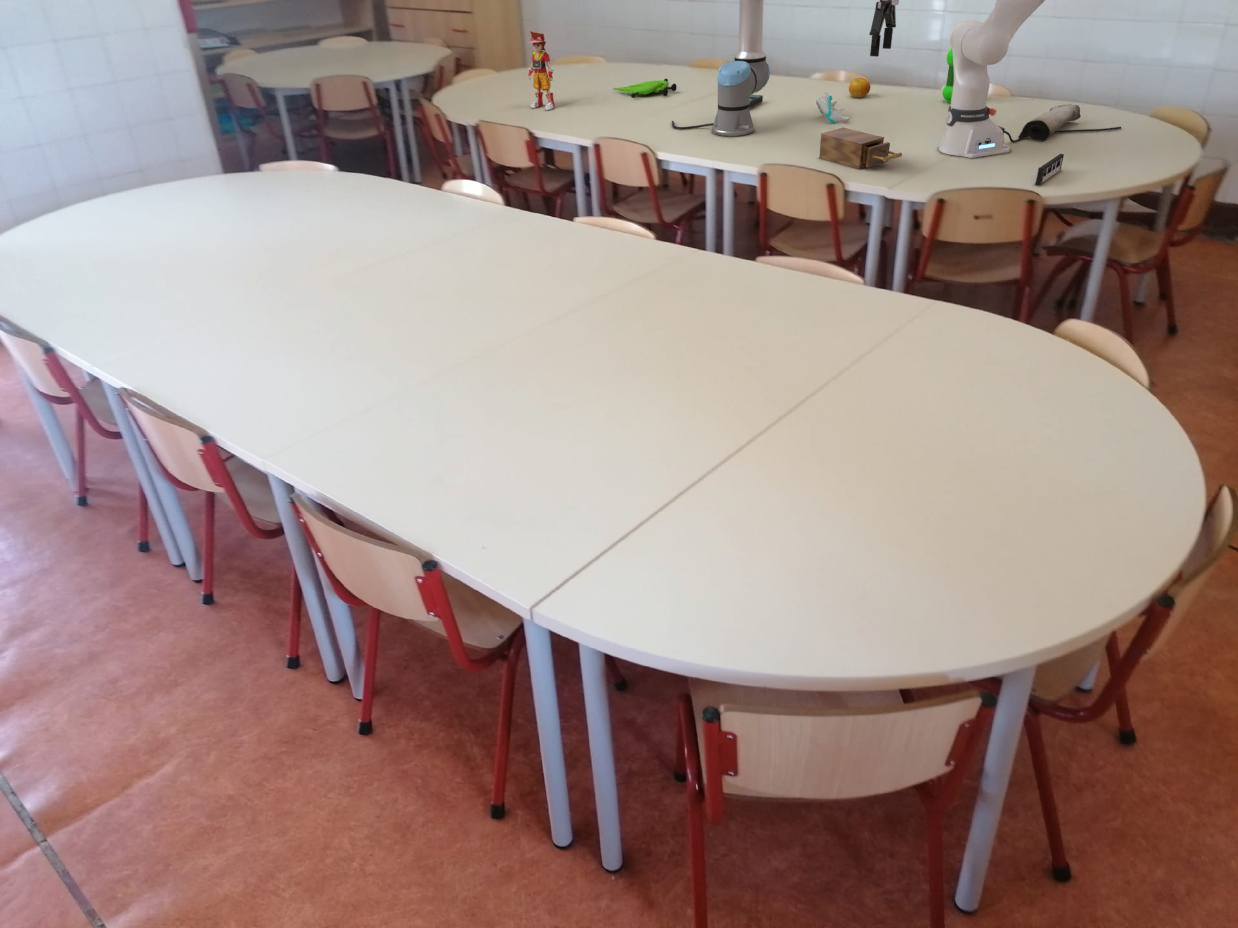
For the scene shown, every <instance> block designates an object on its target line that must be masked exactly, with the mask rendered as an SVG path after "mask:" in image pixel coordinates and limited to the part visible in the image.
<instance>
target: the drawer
mask: <svg viewBox="0 0 1238 928" xmlns="http://www.w3.org/2000/svg"><path fill="white" fill-rule="evenodd" d="M890 147H891V142H889V141H886V142H883V144H882V143H881V142H876V143H873V144H870V145H866V146H863V157H862V164H866V167H865V168H868V169H869V168H872V167H876V166H879V165H881V164H885V163H888V162H889V161H891V160H894V159H898V158H902V157H903V153H902V152H895V151H891V150H890Z"/></svg>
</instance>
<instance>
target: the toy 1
mask: <svg viewBox="0 0 1238 928" xmlns="http://www.w3.org/2000/svg"><path fill="white" fill-rule="evenodd" d="M529 33H530V35H531V36H528V37H527V38H528V39H529V40H528V41H527V43H529V44H530V43H531V44H532V48H533V50H534V51H533V52H532V55H531V58H530V59H531V63H530V66H528V74H527V75H528V76H527V77H528V79H529V80H531V75H532V74H533V84H532V85H533V86H532V87H533V88H534V89H535V90H536V92H534V95H535V97H536V100H535V101H533V102H531V105H530V108H531V109H535V108H538V107H542V106H544V101H543V100H544V99H543V95H544V92H546V94H545V97H546V99H547V103H546V104H545V106H544V110H546V111H549V110H553V109H554V107H555V106H556V105H555V99H554V92H551V91H550V90H551V86H552V84H551V82H552V81H553V80H554V77H553V73H554V71H555V70H554V69H552V68H551V63H550V61H551V59H550V58H551V57H550V54H549V53H548V52H547V50H546V48H545V46H546V44H547V41H545V35H544V33H543V32H542V33H539V32H535V31H529Z"/></svg>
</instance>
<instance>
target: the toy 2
mask: <svg viewBox="0 0 1238 928" xmlns="http://www.w3.org/2000/svg"><path fill="white" fill-rule="evenodd" d="M669 85H670V83H669V79H668V78H664V79H663V80H649V81H644V82H640V83H634V84H629V85H627V86H621V87H613V88H612V89H613V90H616V91H619V92H623V93H627V94H628V93H629V94H631V95H630V96H631V98H632V99H634V98H636V96H637V95H650V94H652V93H654V94H658V93H662V95H663V96H665V97H667V96H668V95H669V90H671V91H672V92H676V91H677V84H676V83H672V84H671V86H669Z"/></svg>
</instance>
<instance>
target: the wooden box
mask: <svg viewBox="0 0 1238 928" xmlns="http://www.w3.org/2000/svg"><path fill="white" fill-rule="evenodd" d="M884 140H885V137H884V136H880V135H877V134H872V133H868V132H864V131H860V130H856V129H852V128H848V127H844V126H843V127H840V128H836V129H832V130H829V131H824V132H822V133H820V143H819V146H820V147H819V157H818V158H819V159H821V160H825V161H829V162H831V163H835V164H839V165H842V166H847V167H849V168H853V169H857V170H861V169H865V168H867V167H866V164H862V157H863V146H866V145H870V144H873V143H876V142H881V143H882V144H883V143H885V142H884Z"/></svg>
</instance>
